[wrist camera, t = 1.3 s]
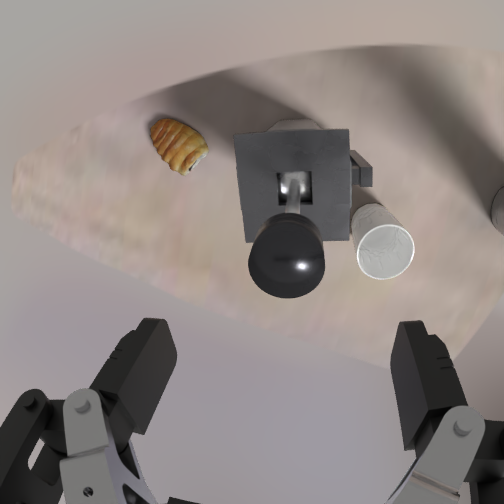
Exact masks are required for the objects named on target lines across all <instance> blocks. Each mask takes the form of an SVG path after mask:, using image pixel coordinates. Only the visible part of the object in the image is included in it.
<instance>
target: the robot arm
mask: <svg viewBox="0 0 504 504" xmlns="http://www.w3.org/2000/svg"><path fill="white" fill-rule="evenodd" d="M491 216H492V222H493V224H494V226H495V228H496V229H497V230H498V231H499V232H500V233H501V234H503V235H504V187H503V188H501V189H500V191H499V192H498V193H497V195H496V196H495V199H494V201H493V204H492V210H491ZM176 361H177V351H176V347H175V344H174V342H173V339H172V336H171V333H170V330H169V327H168V324H167V321H166V320H165V319H157V318H156V319H155V318H144V319H143V320H142V321H141V323H140V324H139V326H138V327H137V329H136V330H132V331H130V332H129V333H128V334H126V335H125V336H124V337H123V338H122V339H121V340H120V341H119V343H118V345H117V346H116V347H115V351H113V352H112V353H111V355H110V358H109V359H107V361H106V362H105V364H104V365H103V367H102V369H101V370H100V372H99V373H98V375H97V376H96V378H95V379H94V381H93V383H92V384H91V386H90V387H89V388H88V389H79V390H77V391H75V392H73V393H72V394H70V395H69V396H68V397H67V399H66V400H49V399H48V398H47V397H46V395H45V394H44V393H43V392H42V391H41V390H39V389H31V390H28V391H26V392H25V393H23V394H22V395H21V396H20V397H19V399H18V400H17V402H16V403H15V405H14V407H13V408H12V409H11V411H10V413H9V414H8V416H7V417H6V419H5V421H4V422H3V424H2V426H1V427H0V504H58V502H59V500H60V498H61V495H62V493H63V491H64V496H65V501H66V504H158V503H157V501H156V499H155V497H154V496H153V494H152V493H151V491H150V489H149V488H148V486H147V484H146V482H145V480H144V477H143V475H142V472H141V469H140V466H139V463H138V460H137V457H136V454H135V451H134V448H133V444H132V442H131V440H130V437H131V435H132V433H133V432H135V433H138V434H142V435H144V434H145V432H146V430H147V427H148V425H149V423H150V420H151V419H152V416H153V414H154V412H155V410H156V407H157V405H158V403H159V401H160V398H161V396H162V394H163V392H164V390H165V387H166V385H167V383H168V381H169V378H170V376H171V374H172V372H173V370H174V367H175V365H176ZM390 366H391V374H392V379H393V384H394V389H395V394H396V400H397V405H398V411H399V417H400V423H401V430H402V436H403V443H404V450H405V451H407V450H414V449H415V452H416V459H415V460H414V462H413V463H412V465H411V466H410V468H409V469H408V471H407V472H406V474H405V475H404V477H403V478H402V480H401V481H400V483H399V484H398V486H397V487H396V488H395V490H394V491H393V493H392V494H391V495H390V497H389V498H388V499H387V501H386V502H385V503H384V504H457V503H458V501H459V497H460V495H459V494H458V491H459V489H460V487H461V485H462V483H463V482H469V485H470V494H471V504H504V421H503V422H502V421H491V420H485V419H483V417H482V415H481V414H480V413H479V412H478V411H477V410H475V409H474V408H472V407H469V406H468V404H467V401H466V398H465V395H464V393H463V390H462V387H461V384H460V381H459V378H458V376H457V373H456V370H455V368H454V365H453V363H452V360H451V359H450V355H449V353H448V350H447V348H446V345H445V344H444V343H443V342H442V341H441V340H440V339H439V338H438V337H437V335H436V334H434V335H428V333H427V331H426V328H425V326H424V323H423V322H422V321H421V320H418V321H403V322H400V323H399V325H398V329H397V333H396V338H395V342H394V346H393V350H392V354H391V362H390ZM39 438H40V439H41V440H42V441H43V442H44V443H45V444H44V446H43V448H42V450H41V452H40V454H39V456H38V458H37V460H36V462H35V464H34V466H33V468H32V469H31V470H30V469H29V467H28V459H29V457H30V455H31V453H32V451H33V449H34V447H35V445H36V443H37V441H38V440H39ZM167 504H199V503H194V502H190V501H185V500H180V499H177V498H172V497H169V500H168V503H167Z"/></svg>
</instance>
